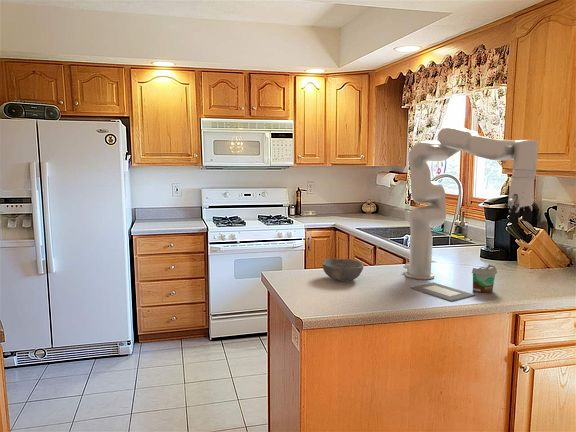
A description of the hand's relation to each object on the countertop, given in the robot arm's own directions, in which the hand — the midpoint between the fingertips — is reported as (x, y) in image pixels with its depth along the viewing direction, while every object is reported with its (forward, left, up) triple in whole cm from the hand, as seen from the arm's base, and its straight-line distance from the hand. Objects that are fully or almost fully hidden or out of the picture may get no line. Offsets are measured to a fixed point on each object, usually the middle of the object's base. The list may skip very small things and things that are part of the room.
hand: (520, 222), depth 167 cm
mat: (-23, -11, -31) cm, 40 cm away
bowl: (-57, -34, -31) cm, 74 cm away
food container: (-14, +5, -31) cm, 34 cm away
